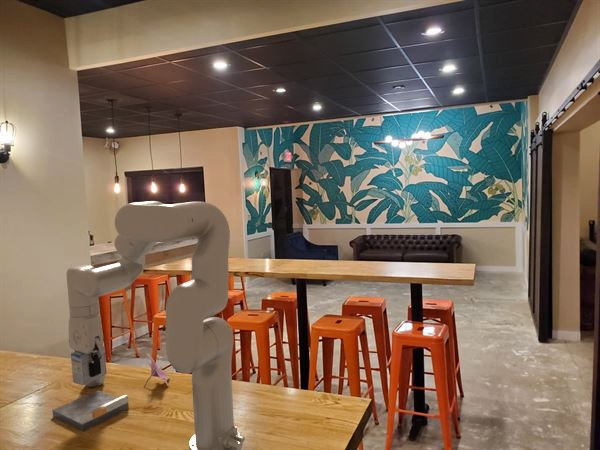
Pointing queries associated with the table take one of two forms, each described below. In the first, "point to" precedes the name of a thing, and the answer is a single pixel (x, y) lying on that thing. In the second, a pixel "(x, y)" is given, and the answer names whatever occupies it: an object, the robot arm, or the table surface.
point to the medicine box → (85, 367)
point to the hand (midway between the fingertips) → (89, 372)
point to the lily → (156, 371)
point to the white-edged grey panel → (91, 409)
